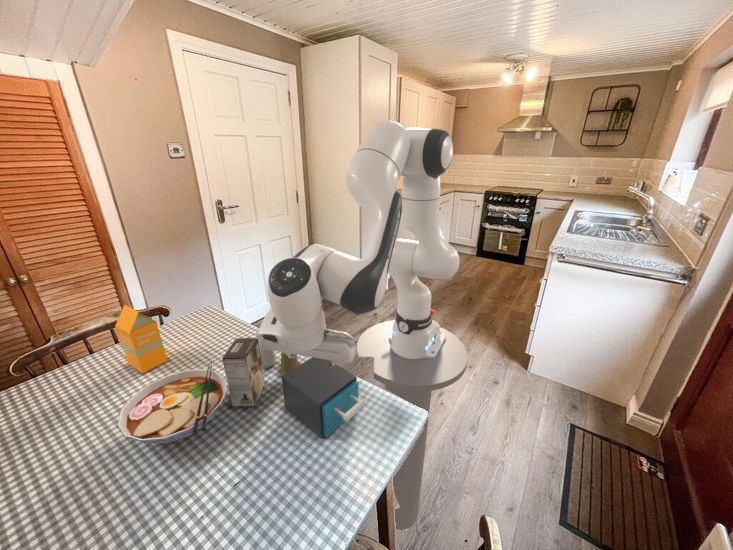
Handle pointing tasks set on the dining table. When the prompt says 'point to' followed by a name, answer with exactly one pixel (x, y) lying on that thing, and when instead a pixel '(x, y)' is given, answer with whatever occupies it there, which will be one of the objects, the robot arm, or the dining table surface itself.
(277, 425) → the dining table surface
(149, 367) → the orange juice
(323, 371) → the grey drawer cabinet
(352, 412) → the teal drawer
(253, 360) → the coffee box
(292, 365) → the olive pepper shaker
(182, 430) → the ramen bowl
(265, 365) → the salt shaker
